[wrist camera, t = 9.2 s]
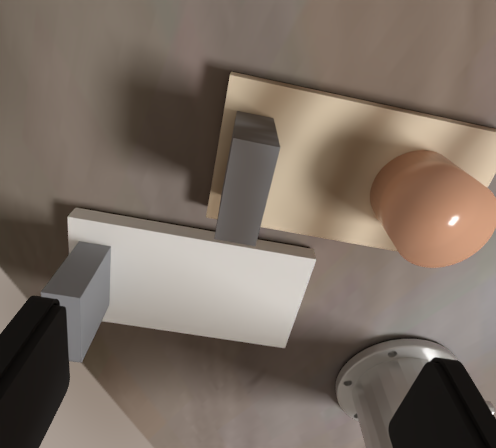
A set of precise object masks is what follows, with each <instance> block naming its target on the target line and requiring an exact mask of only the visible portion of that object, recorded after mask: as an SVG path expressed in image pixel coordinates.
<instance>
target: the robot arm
mask: <svg viewBox="0 0 496 448" xmlns="http://www.w3.org/2000/svg"><path fill="white" fill-rule="evenodd" d="M69 380H70V373H69V353H68V333H67V313H66V307H65V306H60V302H59V300H58V299H53V298H46V297H40V296H31V297H30V298H29V299H28V300H27V301H26V303H25V304H24V305H23V307H22V308H21V309H20V310H19V311H18V313H17V314H16V315H15V316H14V318H13V319H12V320H11V322H10V323H9V324H8V325H7V326H6V328H5V329H4V330H3V332H2V333H1V334H0V448H39V446H40V444H41V442H42V440H43V438H44V436H45V434H46V432H47V430H48V428H49V426H50V424H51V422H52V420H53V418H54V416H55V414H56V412H57V410H58V408H59V406H60V404H61V402H62V400H63V398H64V396H65V394H66V392H67V389H68V386H69ZM335 388H336V395H337V399H338V403H339V405H340V407H341V409H342V410H343V411H344V412H345V413H346V414H347V415H348V416H349V417H351V418H352V419H354V420H356V421H358V422H359V423H360V427H361V431H362V435H363V438H364V442H365V446H366V448H496V419H495V417H494V415H493V414H494V406H493V404H492V403H491V402H490V401H485V400H484V399H483V397H482V396H481V394H480V392H479V391H478V389H477V387H476V386H475V384H474V382H473V381H472V379H471V377H470V376H469V374H468V372H467V371H466V369H465V368H464V366H463V365H462V363H461V362H459V361H458V360H457V358H456V357H455V355H454V354H453V353H451V352H450V351H449V350H448V349H447V348H445V347H443V346H441V345H440V344H437V343H434V342H431V341H427V340H420V339H398V340H390V341H387V342H383V343H379V344H376V345H374V346H371V347H369V348H367V349H365V350H363V351H361V352H360V353H358V354H356V355H355V356H354V357H353V358H352V359H350V360H349V361H348V362H347V363H346V364H345V365H344V367H343V368H342V369H341V371H340V373H339V374H338V376H337V380H336V384H335Z"/></svg>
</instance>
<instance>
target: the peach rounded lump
mask: <svg viewBox="0 0 496 448" xmlns="http://www.w3.org/2000/svg"><path fill="white" fill-rule="evenodd" d="M370 204H371V207H372V210H373V212H374V214H375V215H376V217H377V218H378V220H379V222H380V223H381V225H382V226H383V228H384V230H385V231H386V233H387V234H388V236H389V238H390V239H391V241H392V242H393V244H394V246H395V247H396V249H397V250H398V252H399V253H400V255H401V256H402V257H403V258H405V259H406V260H407V261H409V262H411V263H412V264H415V265H418V266H422V267H429V268H437V267H445V266H449V265H453V264H456V263H458V262H461V261H463V260H465V259H467V258H469V257H470V256H472V255H473V254H475V253H476V252H477V251H478V250H480V249H481V248H482V247H483V246H484V245H485V244H486V242H487V241H488V240H489V239H490V237H491V236H492V234H493V232H494V230H495V228H496V198H495V196H494V195H493V193H492V192H491V191H490V190H489V189H488V188H487V187H486V186H484V185H483V184H481V183H480V182H479V181H477V180H476V179H475V178H473V177H472V176H471V175H469V174H468V173H466V172H465V171H464V170H462V169H461V168H460V167H458V166H457V165H456V164H454V163H453V162H451V161H450V160H449V159H447V158H446V157H444V156H443V155H441V154H439V153H437V152H434V151H429V150H416V151H411V152H407V153H404V154H402V155H400V156H398V157H396V158H394V159H393V160H391V161H390V162H388V163H387V164H386V165H385V166H384V167H383V168H382V169H381V170H380V172H379V173H378V174H377V176H376V177H375V179H374V181H373V183H372V187H371V191H370Z"/></svg>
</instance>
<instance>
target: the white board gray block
mask: <svg viewBox="0 0 496 448" xmlns="http://www.w3.org/2000/svg"><path fill="white" fill-rule="evenodd" d="M67 218H68V244H69V255H68V257H67V258H66V259H65V261H64V262H63V263H62V265H61V266H60V267H59V269H58V270H57V271H56V273H55V274H54V275H53V277H52V278H51V279H50V281H49V282H48V283H47V285H46V286H45V287H44V289H43V290H42V291H41V297H46V298H53V299H58V300H59V302H60V306H65V307H66V313H67V333H68V353H69V361H73V362H80V363H82V361H83V359H84V357H85V355H86V353H87V350H88V348H89V346H90V344H91V342H92V340H93V338H94V336H95V334H96V332H97V330H98V328H99V326H100V323H101V321H104V322H111V323H118V324H124V325H131V326H138V327H145V328H151V329H158V330H165V331H172V332H178V333H185V334H192V335H199V336H205V337H212V338H219V339H226V340H232V341H239V342H246V343H253V344H259V345H266V346H273V347H280V348H285V347H286V344H287V341H288V338H289V335H290V332H291V330H292V327H293V324H294V321H295V318H296V316H297V313H298V310H299V307H300V304H301V301H302V299H303V296H304V293H305V290H306V287H307V285H308V282H309V279H310V276H311V273H312V270H313V268H314V265H315V262H316V257H315V253H314V249H310V248H304V247H299V246H293V245H287V244H282V243H276V242H270V241H264V240H259V239H257V242H256V246H250V245H244V244H238V243H232V242H227V241H221V240H215V239H214V238H215V232H213V231H207V230H202V229H196V228H190V227H185V226H179V225H173V224H167V223H162V222H156V221H150V220H145V219H139V218H133V217H127V216H122V215H116V214H110V213H105V212H99V211H93V210H87V209H82V208H75V209H74V210H73V211H72V212H71V213H70V214H69V215H68V217H67Z"/></svg>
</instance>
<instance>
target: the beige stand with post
mask: <svg viewBox="0 0 496 448" xmlns="http://www.w3.org/2000/svg"><path fill="white" fill-rule="evenodd" d="M416 150H429V151H434V152H437V153H439V154H441V155H443V156H444V157H446V158H447V159H449V160H450V161H451V162H453V163H454V164H456V165H457V166H458V167H460V168H461V169H462V170H464V171H465V172H466V173H468V174H469V175H471V176H472V177H473V178H475V179H476V180H477V181H479V182H480V183H481V184H483V185H484V186H486V187H487V188H488V186H489V184H490V182H491V180H492V179H493V177H494V175H495V173H496V129H494V128H489V127H484V126H480V125H475V124H471V123H466V122H461V121H457V120H452V119H448V118H443V117H438V116H434V115H429V114H425V113H420V112H415V111H411V110H406V109H401V108H397V107H392V106H388V105H383V104H378V103H374V102H369V101H365V100H360V99H355V98H351V97H346V96H342V95H337V94H332V93H328V92H323V91H319V90H314V89H309V88H305V87H300V86H295V85H291V84H286V83H282V82H277V81H272V80H268V79H263V78H259V77H254V76H249V75H245V74H240V73H236V72H231V73H230V77H229V83H228V89H227V95H226V101H225V107H224V113H223V119H222V125H221V131H220V137H219V143H218V149H217V155H216V161H215V167H214V173H213V179H212V185H211V191H210V197H209V202H208V208H207V214H206V217H208V218H213V219H217V225H216V232H215V238H214V239H215V240H221V241H227V242H232V243H238V244H244V245H250V246H256V242H257V238H258V234H259V230H260V227H264V228H269V229H275V230H280V231H286V232H292V233H297V234H303V235H308V236H314V237H320V238H325V239H331V240H336V241H342V242H348V243H353V244H359V245H364V246H370V247H376V248H381V249H387V250H392V251H398V250H397V249H396V247H395V246H394V244H393V242H392V241H391V239H390V238H389V236H388V234H387V233H386V231H385V230H384V228H383V226H382V225H381V223H380V222H379V220H378V218H377V217H376V215H375V214H374V212H373V210H372V207H371V204H370V191H371V187H372V183H373V181H374V179H375V177H376V176H377V174H378V173H379V172H380V170H381V169H382V168H383V167H384V166H385V165H386V164H387V163H388V162H390V161H391V160H393V159H394V158H396V157H398V156H400V155H402V154H404V153H407V152H411V151H416Z"/></svg>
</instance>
